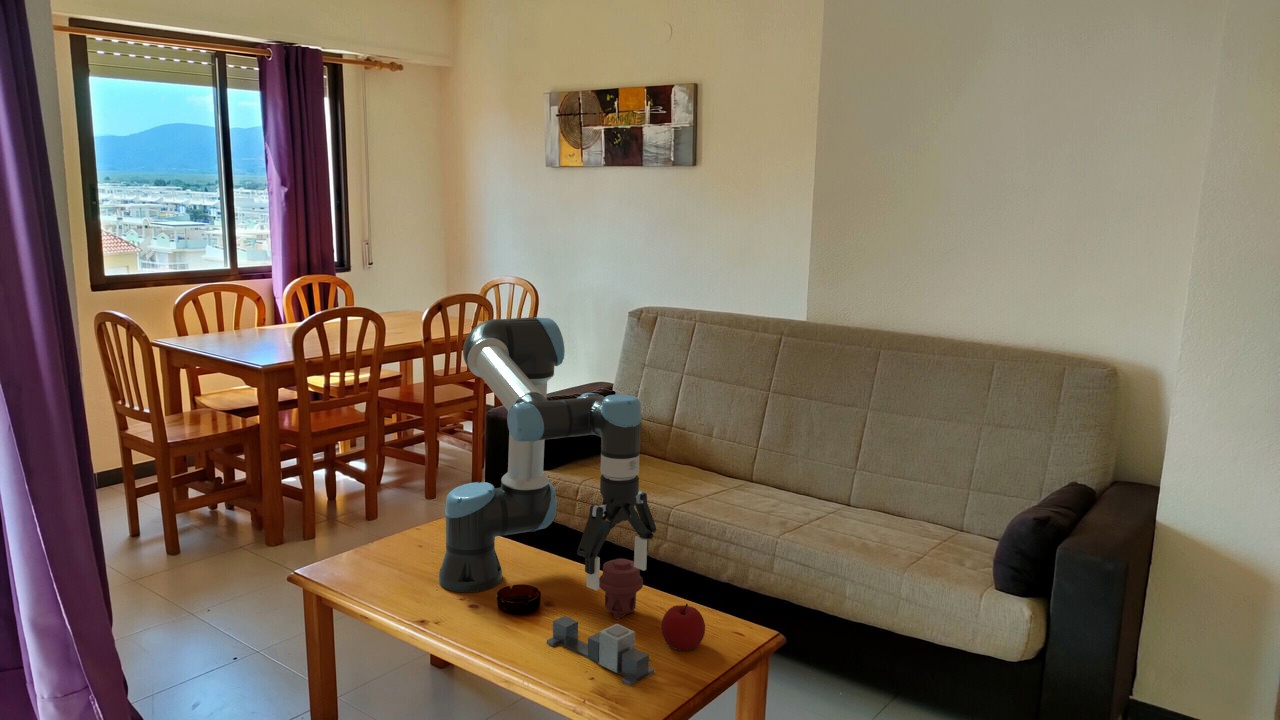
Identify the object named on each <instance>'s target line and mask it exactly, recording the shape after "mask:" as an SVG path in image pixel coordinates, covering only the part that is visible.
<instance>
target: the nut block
mask: <svg viewBox="0 0 1280 720" xmlns="http://www.w3.org/2000/svg"><path fill="white" fill-rule="evenodd" d="M599 632H600V637H599V665H600V666H602V667H604V668H606V669H608V670H609V671H612V672H614V673H616V674H618V672H620V671H622V654H623V653H625V652H627V651H629V650H631V649H633V648H635V644H636V643H635V641H636V639H635V637H636V631H635V630H631V629H630V628H628V627H626V626H624V625H621V624H619V623H615V624H612V625H611V626H608V627H606V628H604V629H602V630H600V631H599ZM635 649H636V648H635Z"/></svg>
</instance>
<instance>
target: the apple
mask: <svg viewBox="0 0 1280 720" xmlns="http://www.w3.org/2000/svg"><path fill="white" fill-rule="evenodd" d="M705 623H706V622H705V620H704V617H703V615H702V614H701V612H700V611H699V610H698V609H696V608H695V607H693V606H692V605H691V606H690V605H689V604H688V603H686V604H685V605H684V604H683V605H679V604H678V605H677V604H676V605H673V606H672V607H670V608H669V609H667V611H666V612H665V614H664V616H663V617H662V620H661V624H660V630H661V634H662V637H663V639H664V642H665V643H666V644H667V645H668V646H669V647H670V648H671V649H674V650H677V651H682V652H683V651H690V650H693V649H695V648H698V647H699V645H700V644H701V643H702V641H703V640H704V637H705V634H706V624H705Z"/></svg>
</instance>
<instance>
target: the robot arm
mask: <svg viewBox="0 0 1280 720" xmlns="http://www.w3.org/2000/svg"><path fill="white" fill-rule="evenodd" d="M462 355H463V356H462V357H463V359H464V360H463V361H464V363H465V365H466V367H467V368H468V369H469V370H470V372H471V373H472V374H473V375H475V376H476V377H479V378H481V379H482V380H483V381H484V383H485V384H486V385H487V386H488V387H489V389H490V390H491V391H492V393H493V394H494V396H496V398H497V399H498V400H499V401H500V403H501V404H502V405H503V407H504V408H505V409H506V410H507V417H506V418H507V421H506V422H507V428H508V431H509V432H508V433H509V435H508V457H507V458H508V459H507V460H508V462H507V465H508V466H507V472H506V473H505V474H503V476H502V477H501V479H500V482H501V483H500V487H496V488H495V486H494V485H493V484H492V483H489V482H485V481H482V482H478V481H475V482H469V483H465V484H461V485H459V486H457V487H455V488H453V489H452V490H451V491H450V492H448V494H447V495H446V499H445V509H444V515H445V553H444V555H443V556H444V557H443V559H442V563H441V567H440V569H439V571H438V583H439V585H440V586H441V587H443V589H446V590H447V591H451V592H457V593H476V592H478V593H479V592H483V591H487V590H490V589H492V588H495V587H496V586H498V585H499V584H500V583H501V582H502V578H503V570H502V567H501V563H500V560H499V557H498V554H497V552H496V549H495V546H496V545H495V538H496V537H501V536H509V535H515V534H521V533H527V532H529V533H532V532H536V531H538V530H542V529H543V530H544V529H546V528H548V527H549V526H550V525H551V524H552V523H553V521H554V519H555V517H556V513H557V505H558V504H557V498H556V495H557V494H556V490H555V487H554V485H553V484H552V483H551V482H549V481H550V480H549V477H548V476H547V474H545V473H544V458H545V441H546V440H553V439H563V438H571V437H573V438H574V437H582V436H589V435H590V436H591V435H592V436H593V435H595V436H597V437H598V438H600V439H601V441H600V442H601V443H600V444H601V445H600V474H601V475H600V478H599V479H600V481H599V483H600V484H599V485H600V486H599V492H600V494H601V497H602V503H601V504H599V505H596V504H591V505H590V507H589V515H588V519H587V521H586V525H585V528H584V531H583V532H582V536H581V540H580V541H579V545H578V547H577V550H576V554H577V556H579V557H583V558H584V561H585V562H584V571H585V574H586V587H587V588H588V589H592V590H594V591H600V587H599V578H600V572H601V571H600V568H601V563H600V562H601V561H600V560H601V559H600V558H601V557H599V556H598V555H599V553H600V551H601V549H602V547H603V545H604V543H605V542H606V540H607V538H608V536H609V533H610V532H611V530H612V529H614V528H615V526H616V525H617V524H620V523H622V522H625V521H628V522H629V524H630V525H631V527H632V528H633V530H634V531H635V532H636V533H637V535H636V536H634V553H633V555H634V556H633V561H634V567H636V568H638V569H640V570H641V571H643V572H644V571H646V570H647V559H648V558H647V557H648V551H649V540H652V539H653V538H654V533H657V527H656V524H655V520H654V518H653V515H652V511H651V509H650V506H649V504H648V494H647V493H646V492H644V491H641V490H640V477H639V476H638V475H639V474H640V453H641V452H640V451H641V430H642V429H641V427H642V413H641V412H642V408H641V407H642V406H641V400H640V399H639V398H638V397H637V396H633V395H628V394H620V393H619V394H609V395H607V396H604V395H601V394H599V393H594V392H585V393H581V395H579V396H578V397H576V398H566V399H554V400H553V399H552V400H548V397H547V396H548V395H547V393H548V381H550V380H551V379H552V378H553V377H554V375H555V367H558V366H561V364H562V363H563V362H564V361H563V360H564V359H565V341H564V338H563V334H562V332H561V329H560V328H559V325H557V322H556V321H554V319H551V318H550V317H536V316H533V317H532V316H531V317H519V318H517V317H515V318H514V317H513V318H503V319H502V318H492V319H490V320H485V321H483V322H481V323H479V324H478V325H476V326H475V327H474V328H472V330H470V332H469V333H468V335H467V336H466V339H465V340H464V343H463V347H462ZM635 507H636V509H635ZM606 519H607V520H606Z"/></svg>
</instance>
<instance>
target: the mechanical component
mask: <svg viewBox="0 0 1280 720" xmlns="http://www.w3.org/2000/svg"><path fill="white" fill-rule="evenodd" d="M640 570H641V569H638V568H636V567H634V560H630V559H626V558H615V559H611V560H609V561H606V562H604V563H603V565H602V574H601V575H599V589H601V591H603V592H604V608H605V609H606V610H607V611H609V612H611V613H613V617H614V619H615V620H620V619H622V618H623V617H624V616H625V615H627V614H632V613H634V611H635V609H636V605H637V604H636V603H637V602H636V601H637V593H638V592H639V591H640V590H641V589H643V586H644V579H643V577H642V576H641V575H640V572H641V571H640Z"/></svg>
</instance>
